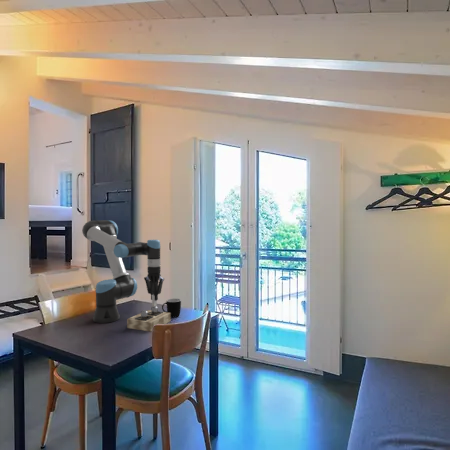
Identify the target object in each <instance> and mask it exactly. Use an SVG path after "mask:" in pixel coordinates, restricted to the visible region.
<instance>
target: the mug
mask: <svg viewBox="0 0 450 450" xmlns="http://www.w3.org/2000/svg"><path fill="white" fill-rule="evenodd" d="M165 305H166V310H165V309H164V306H165ZM181 306H182V300H181V299H180V298H168V299H167V300H166V301H165V302H164V303H163V304H162V305H161V310H162V312H168V313H171V318H172V319H173V318H178V317H180V313H181Z"/></svg>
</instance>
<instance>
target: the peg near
mask: <svg viewBox="0 0 450 450" xmlns="http://www.w3.org/2000/svg"><path fill="white" fill-rule="evenodd" d="M140 313H141V319H147V318H148V317H147V310H141V311H140Z"/></svg>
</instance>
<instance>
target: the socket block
mask: <svg viewBox="0 0 450 450" xmlns="http://www.w3.org/2000/svg"><path fill="white" fill-rule="evenodd" d="M146 311H147V317H148V318H147V319H141V312H140V313H138V314H136V315H133V316H131V317H129V318H127V319H126V328H127V329H131V330H138V331H145V332H150V333H151V332H153V331H152V328H153V326H154V325H157V324H164V325H166V324H169V323H170V322H171V320H172V319H171V313H168V312H167V311H166V312H164V311H158V314H156V315H154V314H151V309H148V310H146Z"/></svg>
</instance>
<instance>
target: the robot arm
mask: <svg viewBox="0 0 450 450" xmlns="http://www.w3.org/2000/svg"><path fill="white" fill-rule="evenodd" d="M118 227H119V226H118V225H117V223H116V222H115V221H113V220H109V219H105V220H89V221H87V222H86V223H84V224H83V226H82V232H81V233H82V234H83V237H85V239H87V240H89V241H92V242H96V243H98V244H100V246H103V249H104V253H105V255H106V258H107V259H106V260H107V262H108V265H109V268H110V271H111V275H112V277H113V278H112V279H111V278H110V279H104V280H100V281H99V282H97V283H96V285H95V310H94V314H93V316H92V321H93V322H94V323H97V324H98V323H99V324H105V323H106V324H107V323H112V322H116V321H119V320H120V313H119V310H118V307H117V300H123V299H125V298H130V297H133V296H134V295H136V293H137V290H138V282H137V280H136V279H135V278H134V277H132V276H131V275H130V273H128V272H127V270H126V267H125V263H124V262H123V258H129V257H130V258H131V257H137V256H147V259H146V260H147V264H146V265H147V268H146V269H147V276H145V277H143V279H144V282H145V284H146V290H147V293H148V294H150V300H151V307H152V306H157V305H158V304H157V303H158V302H157V301H158V300H159V298H158V297H159V295H160V294H161V292H162V288H163V283H164V281H165V278H164V277H162V274H161V272H162V271H161V241H160V240H159V239H148V240H147V241H146V242H141V241H138V242H137V241H135V242H132V243H126V242H124V241H122V240H120V239H118V238H117V237H118V234H119V228H118Z"/></svg>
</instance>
